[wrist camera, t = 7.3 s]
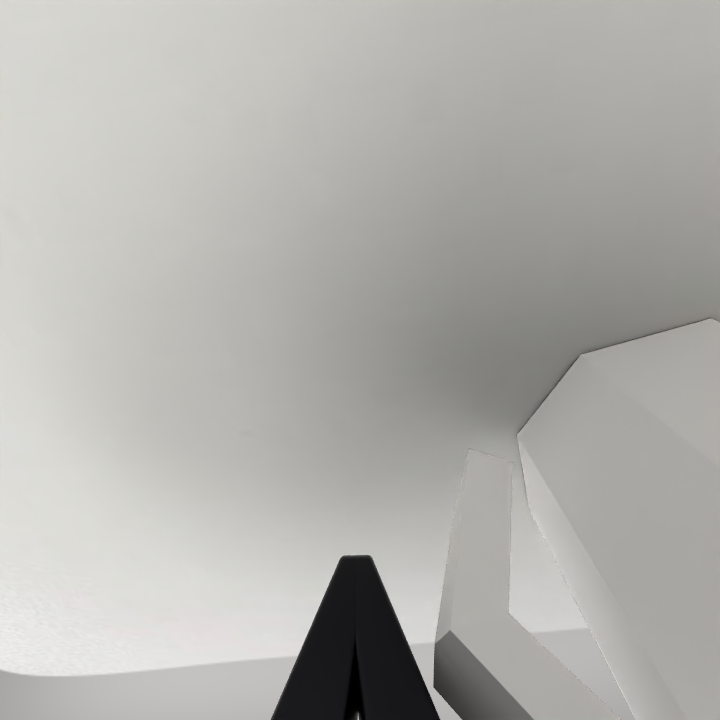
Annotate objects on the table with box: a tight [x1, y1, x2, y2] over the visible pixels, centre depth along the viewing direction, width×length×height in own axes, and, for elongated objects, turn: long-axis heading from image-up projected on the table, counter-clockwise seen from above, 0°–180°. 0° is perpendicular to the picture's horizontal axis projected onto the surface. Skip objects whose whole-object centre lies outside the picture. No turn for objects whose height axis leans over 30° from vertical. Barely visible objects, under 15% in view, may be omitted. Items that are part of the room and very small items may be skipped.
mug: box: [434, 319, 720, 720], centre depth 8 cm, size 12×9×10 cm
